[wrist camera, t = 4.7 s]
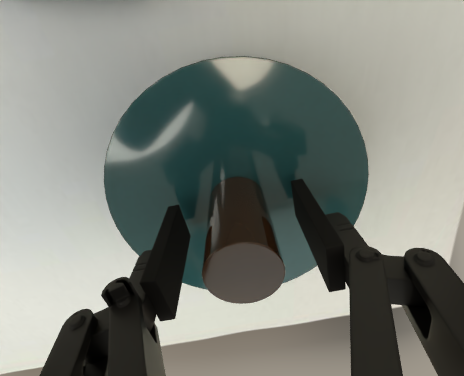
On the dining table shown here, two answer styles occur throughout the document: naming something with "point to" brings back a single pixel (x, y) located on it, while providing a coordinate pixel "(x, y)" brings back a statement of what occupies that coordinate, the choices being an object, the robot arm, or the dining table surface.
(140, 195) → the lid
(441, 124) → the dining table surface
